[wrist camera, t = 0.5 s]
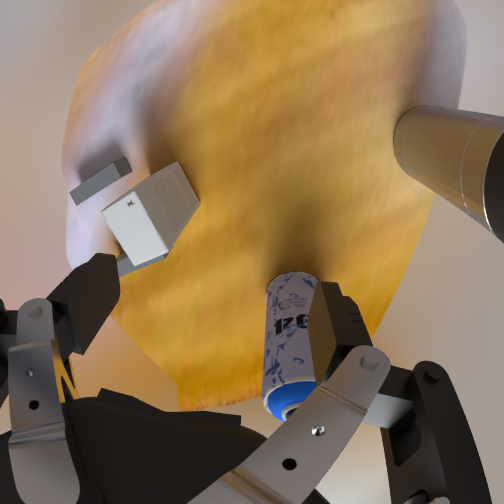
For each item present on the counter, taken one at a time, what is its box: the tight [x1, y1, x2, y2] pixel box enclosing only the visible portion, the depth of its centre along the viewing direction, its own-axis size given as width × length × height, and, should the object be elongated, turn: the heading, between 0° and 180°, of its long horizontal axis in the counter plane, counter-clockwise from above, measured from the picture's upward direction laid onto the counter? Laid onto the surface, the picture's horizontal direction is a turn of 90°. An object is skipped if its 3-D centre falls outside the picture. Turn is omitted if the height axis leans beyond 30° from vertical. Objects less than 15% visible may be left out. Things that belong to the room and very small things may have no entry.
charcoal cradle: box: [69, 158, 173, 277], centre depth 35 cm, size 8×13×3 cm, turn 23°
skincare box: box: [101, 161, 200, 266], centre depth 29 cm, size 6×4×12 cm
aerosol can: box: [262, 271, 318, 422], centre depth 31 cm, size 8×8×20 cm
